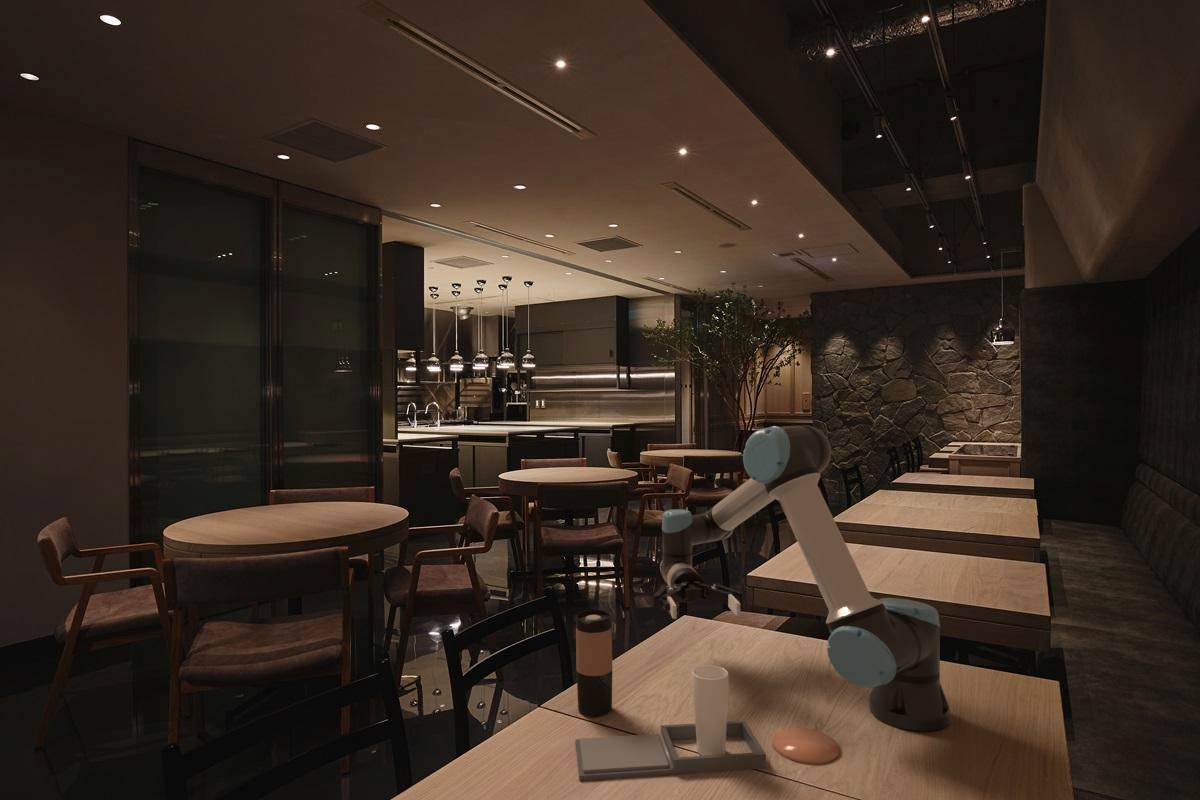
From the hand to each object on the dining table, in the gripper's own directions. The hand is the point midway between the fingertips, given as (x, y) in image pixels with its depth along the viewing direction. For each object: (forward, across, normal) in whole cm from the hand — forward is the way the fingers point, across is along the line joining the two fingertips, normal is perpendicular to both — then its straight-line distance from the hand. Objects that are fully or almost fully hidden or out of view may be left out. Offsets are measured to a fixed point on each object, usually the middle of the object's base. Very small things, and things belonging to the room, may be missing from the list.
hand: (706, 611), depth 143 cm
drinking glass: (+16, +3, -21) cm, 27 cm away
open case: (+17, +12, -21) cm, 29 cm away
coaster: (+16, -15, -21) cm, 30 cm away
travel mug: (-3, +24, -21) cm, 32 cm away
